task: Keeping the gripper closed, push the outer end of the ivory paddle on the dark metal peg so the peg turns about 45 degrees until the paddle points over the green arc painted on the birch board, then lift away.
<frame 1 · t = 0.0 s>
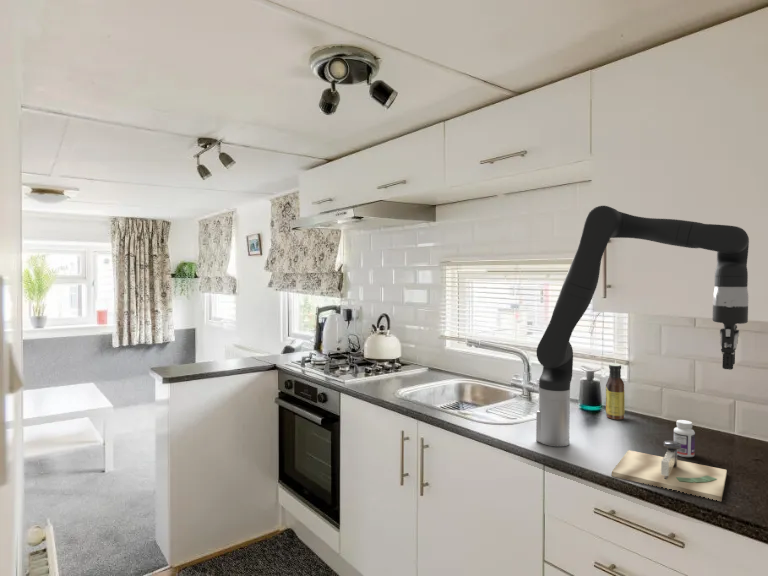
hand: (728, 366, 130), 29 cm above the countertop, tool pointing down, fingers open, 8 cm apart
pill bottle: (683, 455, 147), on the countertop
board: (669, 475, 132), on the countertop
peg: (669, 459, 131), point 4 cm above the countertop, hinge at 0.0°
sauce bottle: (614, 418, 184), on the countertop
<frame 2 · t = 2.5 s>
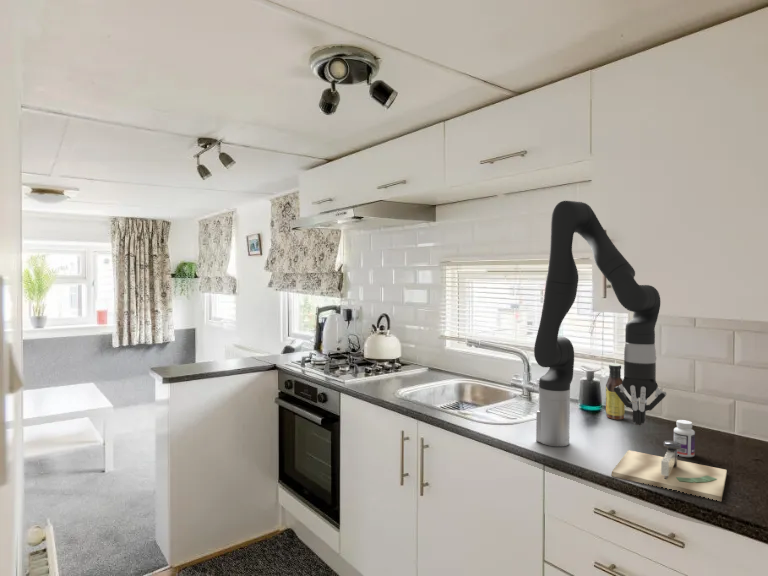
hand: (639, 424, 133), 13 cm above the countertop, tool pointing down, fingers closed
nothing on the countertop moved.
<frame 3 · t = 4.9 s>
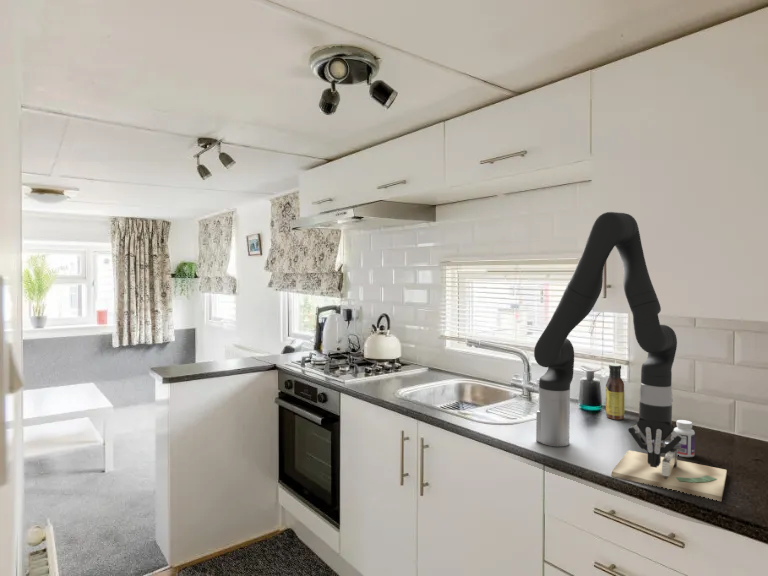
hand: (654, 466, 132), 3 cm above the countertop, tool pointing down, fingers closed
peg: (669, 459, 131), point 5 cm above the countertop, hinge at 0.9°, touching gripper
everything else where it was.
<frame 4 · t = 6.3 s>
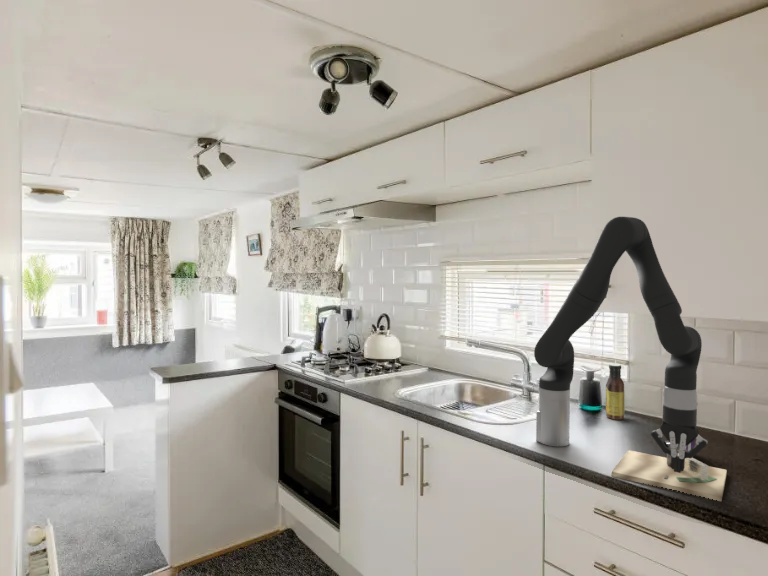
hand: (677, 471, 128), 3 cm above the countertop, tool pointing down, fingers closed
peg: (684, 461, 130), point 4 cm above the countertop, hinge at 42.9°, touching gripper
everything else where it was.
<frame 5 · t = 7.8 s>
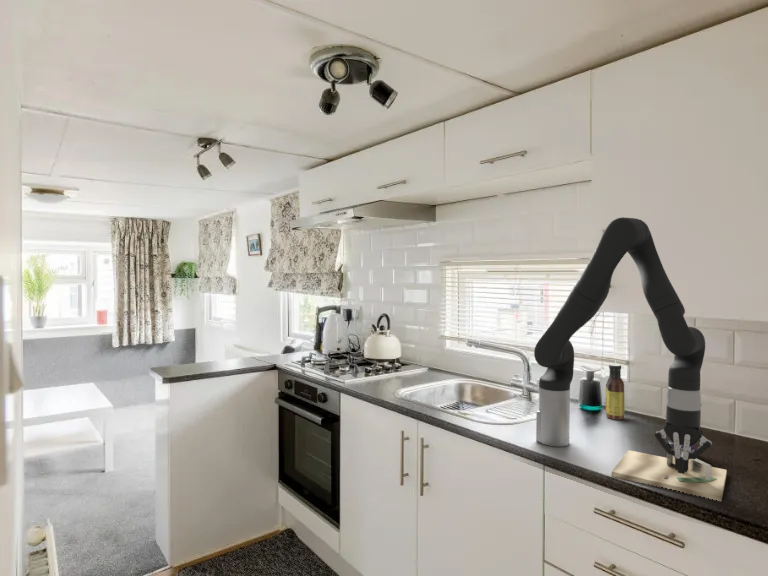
hand: (681, 472, 128), 2 cm above the countertop, tool pointing down, fingers closed
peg: (686, 460, 130), point 5 cm above the countertop, hinge at 47.4°, touching gripper
everything else where it was.
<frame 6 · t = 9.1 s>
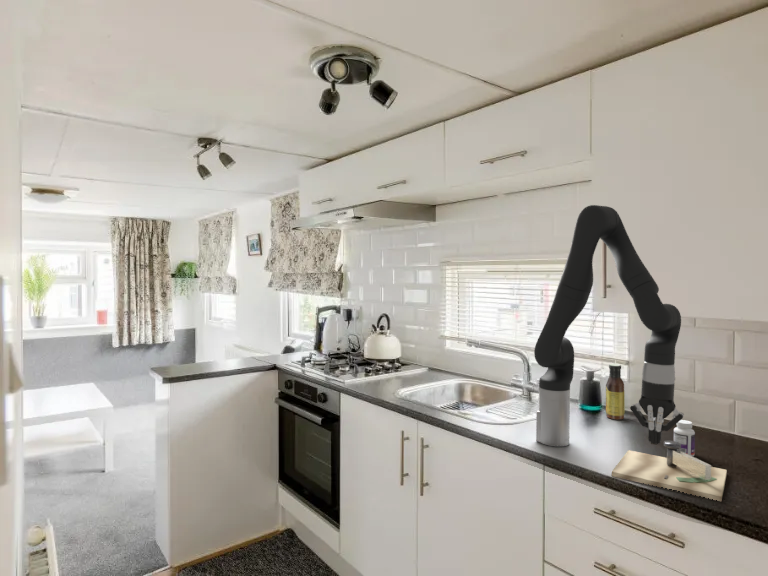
hand: (654, 443, 133), 8 cm above the countertop, tool pointing down, fingers closed
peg: (686, 460, 130), point 4 cm above the countertop, hinge at 47.5°
everything else where it was.
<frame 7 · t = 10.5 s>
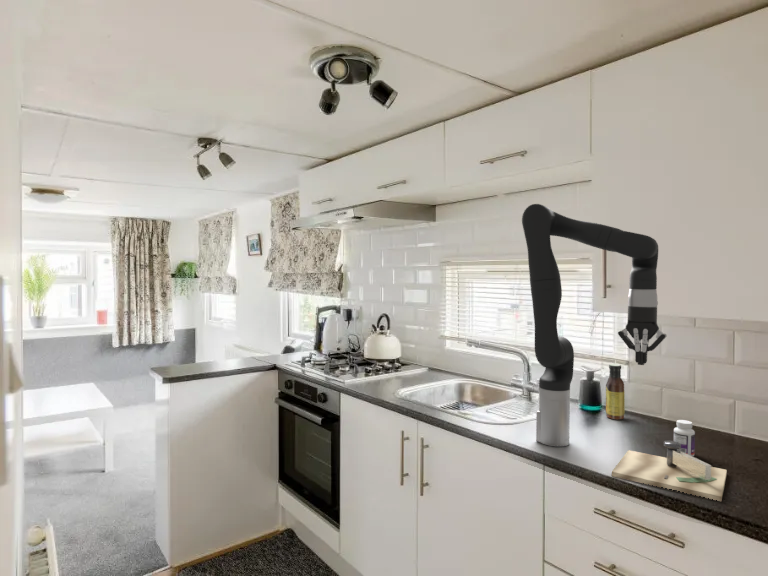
hand: (641, 364, 145), 27 cm above the countertop, tool pointing down, fingers closed
nothing on the countertop moved.
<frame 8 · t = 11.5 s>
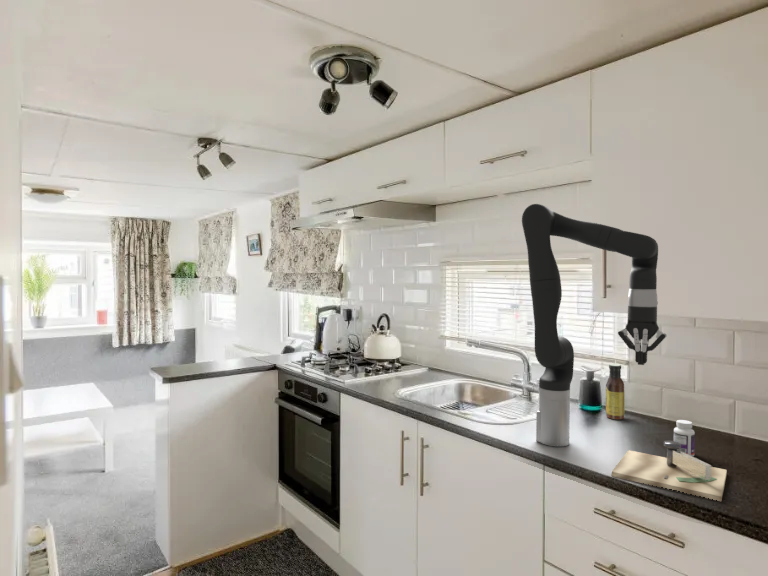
hand: (641, 364, 145), 27 cm above the countertop, tool pointing down, fingers closed
nothing on the countertop moved.
at the end: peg at +48° (first picture: +0°) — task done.
